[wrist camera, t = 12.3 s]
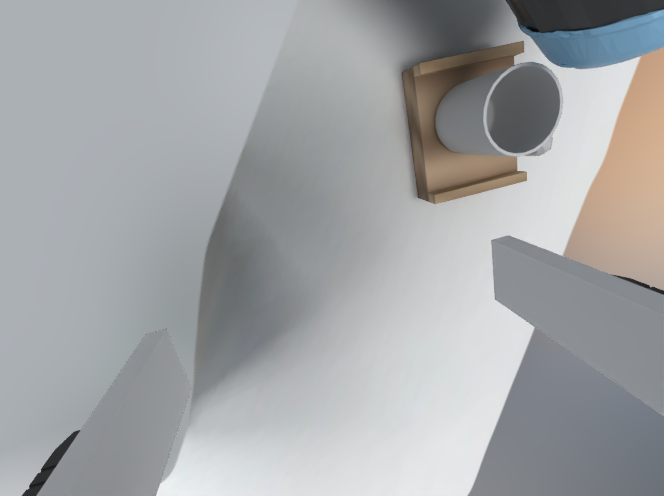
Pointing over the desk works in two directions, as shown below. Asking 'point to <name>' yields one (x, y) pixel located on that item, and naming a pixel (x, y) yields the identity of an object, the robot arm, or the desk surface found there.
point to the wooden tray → (428, 152)
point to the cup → (502, 112)
